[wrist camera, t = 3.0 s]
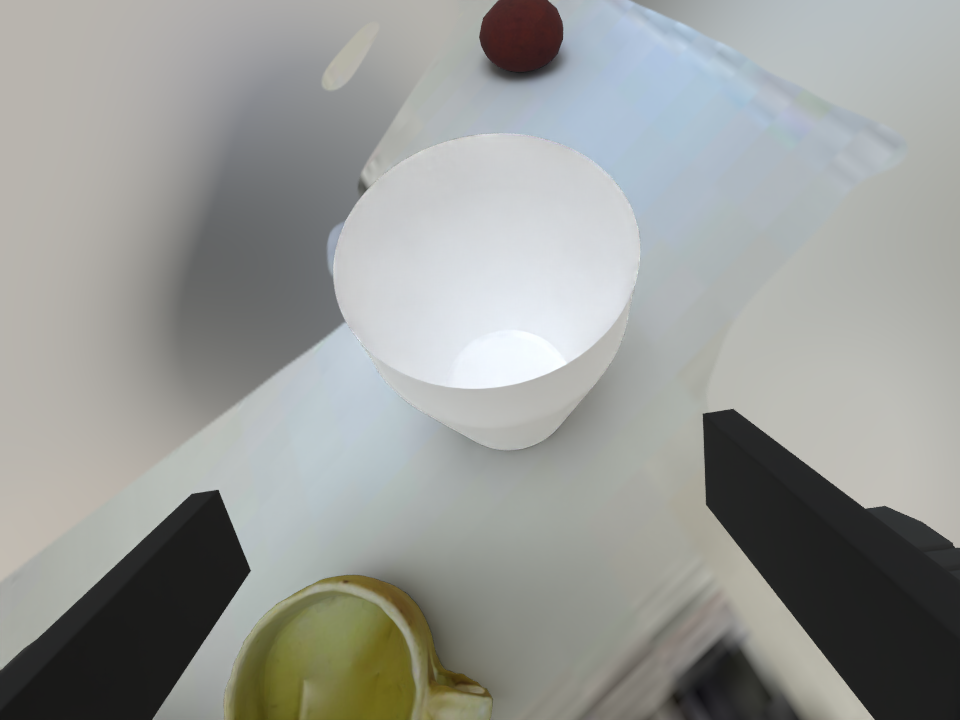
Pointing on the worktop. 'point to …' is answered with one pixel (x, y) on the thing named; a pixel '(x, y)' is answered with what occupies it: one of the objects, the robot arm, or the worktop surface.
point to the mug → (347, 660)
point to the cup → (490, 282)
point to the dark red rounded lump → (521, 34)
